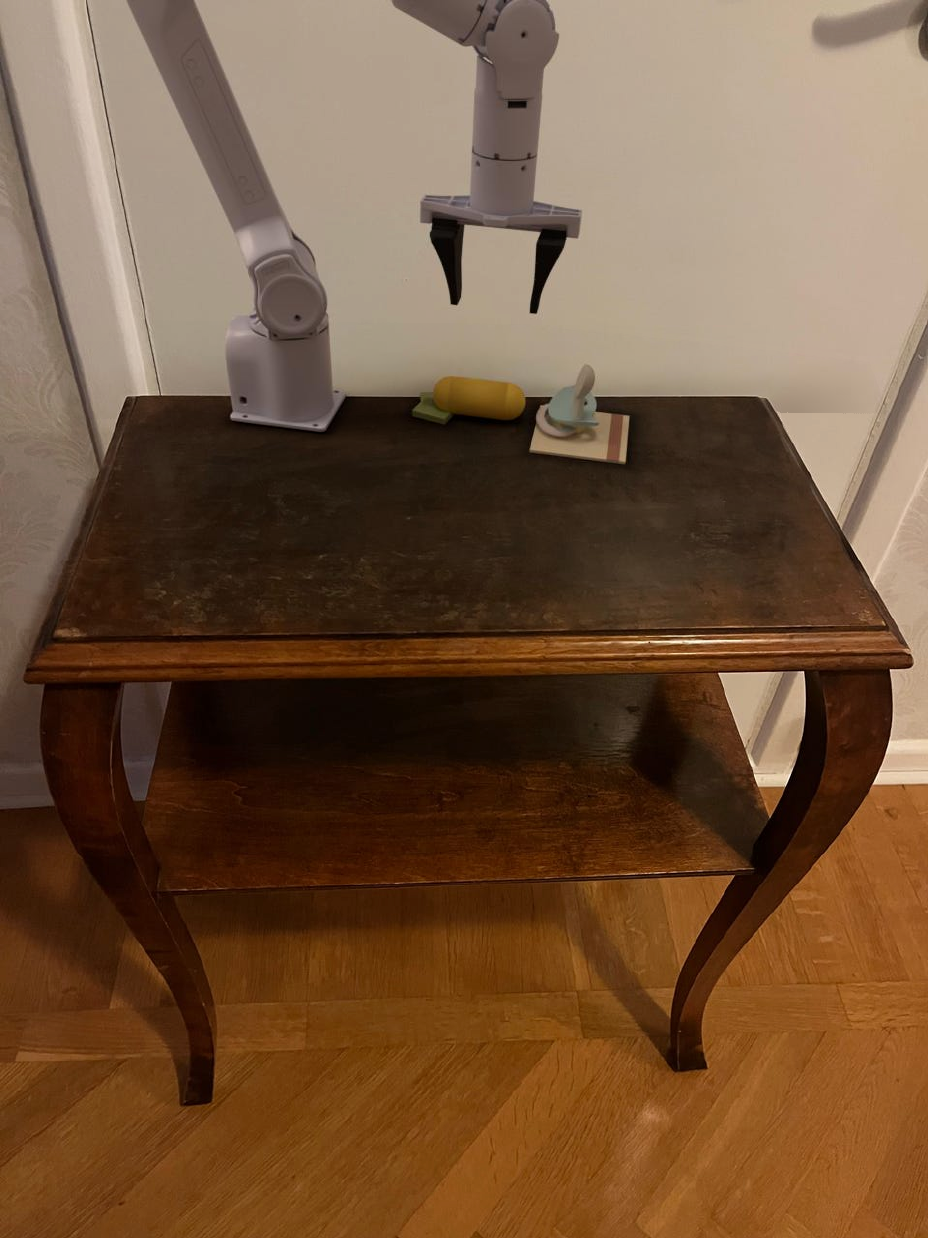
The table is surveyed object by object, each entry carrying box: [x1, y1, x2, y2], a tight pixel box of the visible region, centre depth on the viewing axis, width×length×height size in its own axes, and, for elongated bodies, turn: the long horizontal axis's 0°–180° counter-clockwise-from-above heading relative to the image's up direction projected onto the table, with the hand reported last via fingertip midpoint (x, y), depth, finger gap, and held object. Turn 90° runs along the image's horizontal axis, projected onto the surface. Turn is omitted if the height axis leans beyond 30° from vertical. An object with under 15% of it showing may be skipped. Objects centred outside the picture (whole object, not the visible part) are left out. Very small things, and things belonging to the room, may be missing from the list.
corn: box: [411, 375, 526, 426], centre depth 89 cm, size 11×6×4 cm, turn 80°
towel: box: [529, 404, 630, 465], centre depth 88 cm, size 9×9×1 cm
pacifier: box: [535, 363, 600, 437], centre depth 87 cm, size 7×6×6 cm
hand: (494, 305), depth 87 cm, fingers open, 7 cm apart
